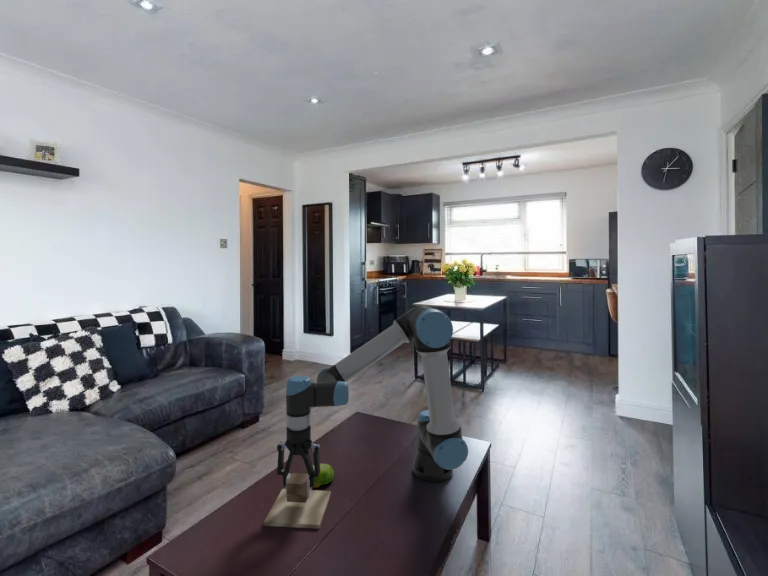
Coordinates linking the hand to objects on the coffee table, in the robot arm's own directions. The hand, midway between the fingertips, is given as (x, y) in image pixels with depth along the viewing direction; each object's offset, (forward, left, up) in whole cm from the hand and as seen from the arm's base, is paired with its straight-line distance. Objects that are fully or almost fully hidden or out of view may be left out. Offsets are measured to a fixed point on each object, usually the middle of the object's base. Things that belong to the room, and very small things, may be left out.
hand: (298, 495), depth 125 cm
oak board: (0, 0, -5) cm, 5 cm away
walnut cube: (0, 0, 0) cm, 0 cm away
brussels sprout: (-3, -17, -5) cm, 18 cm away
